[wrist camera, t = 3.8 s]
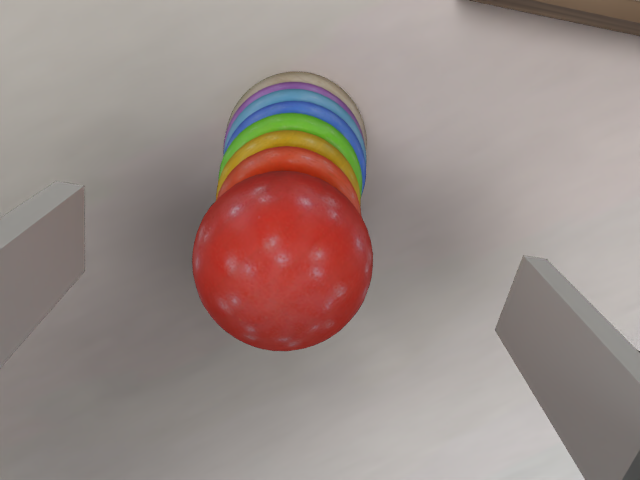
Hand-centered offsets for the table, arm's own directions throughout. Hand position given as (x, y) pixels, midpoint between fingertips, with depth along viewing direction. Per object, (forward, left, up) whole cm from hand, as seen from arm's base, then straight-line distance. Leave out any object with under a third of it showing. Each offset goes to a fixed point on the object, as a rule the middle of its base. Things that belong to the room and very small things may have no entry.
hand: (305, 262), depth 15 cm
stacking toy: (0, 0, -16) cm, 16 cm away
